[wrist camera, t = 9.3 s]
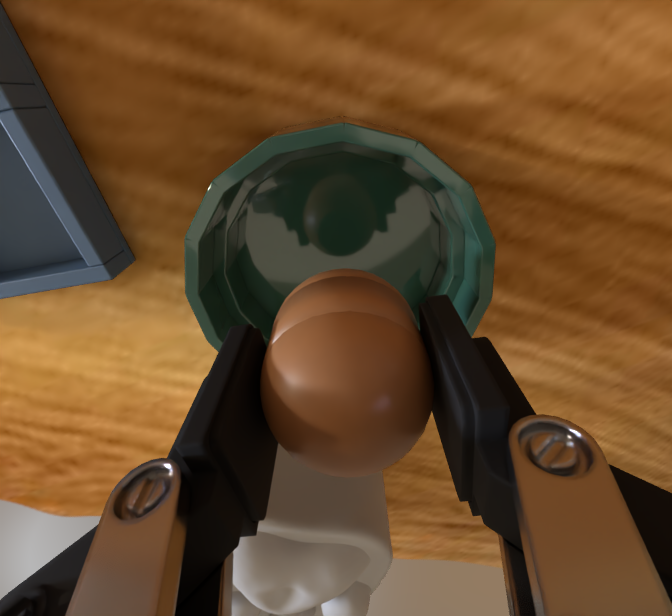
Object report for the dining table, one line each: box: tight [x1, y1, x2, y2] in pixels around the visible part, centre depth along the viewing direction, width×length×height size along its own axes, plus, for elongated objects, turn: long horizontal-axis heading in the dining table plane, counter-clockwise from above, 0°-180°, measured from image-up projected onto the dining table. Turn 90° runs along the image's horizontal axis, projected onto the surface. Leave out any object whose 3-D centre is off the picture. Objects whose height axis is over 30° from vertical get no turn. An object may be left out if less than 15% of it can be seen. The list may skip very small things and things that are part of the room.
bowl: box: [184, 116, 496, 352], centre depth 14 cm, size 11×11×4 cm
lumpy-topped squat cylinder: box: [232, 442, 393, 616], centre depth 21 cm, size 10×13×9 cm
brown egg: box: [260, 268, 434, 478], centre depth 10 cm, size 4×4×6 cm
